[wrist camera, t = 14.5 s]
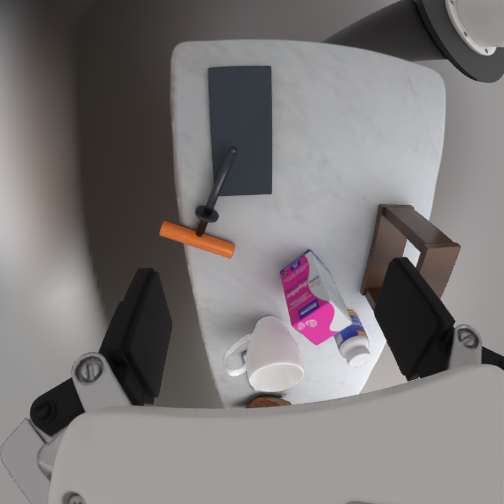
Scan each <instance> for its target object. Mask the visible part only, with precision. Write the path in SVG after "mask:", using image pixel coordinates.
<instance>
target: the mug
mask: <svg viewBox="0 0 504 504" xmlns="http://www.w3.org/2000/svg"><path fill="white" fill-rule="evenodd" d="M247 341H249V344H248V348H247V353H246V362H245V363H244V364H243V365H242V366H241V367H240V368H238V369H236V370H231V369H229V368H228V367H227V359H228V357H229V356H230V354H231V353H233V352H234V351H235V350H236V349H237V348H239V347H240V346H241V345H243V344H244V343H246V342H247ZM223 367H224V369H225V371H226V372H227V373H228V374H229V375H231V376H238V375H240V374H242V373H243V372H245V371H247V373H248V380H249V383H250V385H251V386H252V387H254V388H255V389H257V390H260V391H266V392H277V391H282V390H286V389H289V388H291V387H293V386H295V385H297V384H298V383H299V382H300V381H301V380H302V379H303V377H304V367H303V363H302V358H301V354H300V350H299V347H298V344H297V342H296V340H295V338H294V337H293V335H292V334H291V333H290V332H289V330H288V329H287V328H286V327H285V325H284V324H283V323H282V322H281V320H280V319H279V318H277V317H275V316H266V317H263V318H261V319H260V320H259V321H258V322H257V324H256V326H255V329H254V331H253V333H252V334H249V335H246V336H244V337H243V338H241V339H240V340H239V341H237V342H236V343H234V344H233V345H232V346H231V347H230V348H228V350H227V351H226V352H225V354H224V356H223Z"/></svg>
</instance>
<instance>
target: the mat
mask: <svg viewBox="0 0 504 504" xmlns="http://www.w3.org/2000/svg"><path fill="white" fill-rule="evenodd" d="M209 95H210V118H211V138H212V155H213V171H214V184H215V181H216V179H217V176H218V174H219V172H220V169H221V167H222V164H223V162H224V160H225V157H226V155H227V152H228V150H229V148H230V147H236V148H237V151H238V152H237V154H236V157H235V159H234V161H233V163H232V166H231V168H230V170H229V173H228V175H227V177H226V180H225V182H224V184H223V187H222V189H221V192H220V194H219V196H234V195H258V194H272V95H271V66H233V67H215V68H209Z"/></svg>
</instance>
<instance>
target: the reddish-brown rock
mask: <svg viewBox="0 0 504 504" xmlns="http://www.w3.org/2000/svg"><path fill="white" fill-rule="evenodd" d="M287 405H291V403H290V402H289V401H286V400H283V399H280V398H276V397H271V396H264V397H259V398H256V399H254V400H253V401H252V402H251V403H250V404H249V405H248V406H247V407H246V408H262V407H276V406H287Z"/></svg>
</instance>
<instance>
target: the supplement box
mask: <svg viewBox="0 0 504 504" xmlns="http://www.w3.org/2000/svg"><path fill="white" fill-rule="evenodd" d="M280 274H281V279H282V283H283V288H284V292H285V297H286V302H287V306H288V311H289V316H290V321H291V325H292V327H294V328H295V329H296V330H297V331H299V332H300V333H301V334H303V335H304V336H305V337H306V338H308V339H309V340H310V341H311V342H312V343H314V344H315V345H318V344H320V343H322V342H323V341H325V340H327V339H328V338H330V337H332V336H333V335H335V334H336V333H338V332H340V331H341V330H343V329H344V328H346V327H347V326H349V325H350V324H352V320H351V318H350V315H349V313H348V311H347V308H346V306H345V304H344V302H343V299H342V297H341V295H340V293H339V291H338V288H337V286H336V284H335V282H334V280H333V278H332V275H331V274H330V272H329V271H328V269H327V268H326V267H325V266H324V265H323V264H322V262H321V261H320V260H319V259H318V258H317V257H316V256H315V254H314V253H313V252H312V251H311V250H308V251H307V252H306V253H305V254H304V255H303V256H301V257H300V258H299V259H297V260H296V261H295V262H293V263H292V264H291V265H289V266H288V267H287V268H285V269H283V270H282V271H281V272H280Z"/></svg>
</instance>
